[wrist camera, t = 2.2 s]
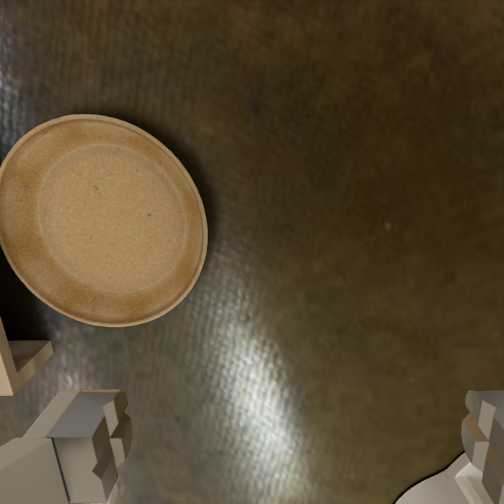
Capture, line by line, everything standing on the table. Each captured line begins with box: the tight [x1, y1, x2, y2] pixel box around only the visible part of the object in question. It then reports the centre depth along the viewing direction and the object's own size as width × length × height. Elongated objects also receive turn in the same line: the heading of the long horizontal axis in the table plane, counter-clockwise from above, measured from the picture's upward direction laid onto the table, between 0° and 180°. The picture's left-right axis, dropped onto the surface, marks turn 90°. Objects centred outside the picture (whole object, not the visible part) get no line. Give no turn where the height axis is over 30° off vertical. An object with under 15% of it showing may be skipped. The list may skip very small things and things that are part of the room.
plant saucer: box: [0, 114, 208, 327], centre depth 28 cm, size 15×15×3 cm
